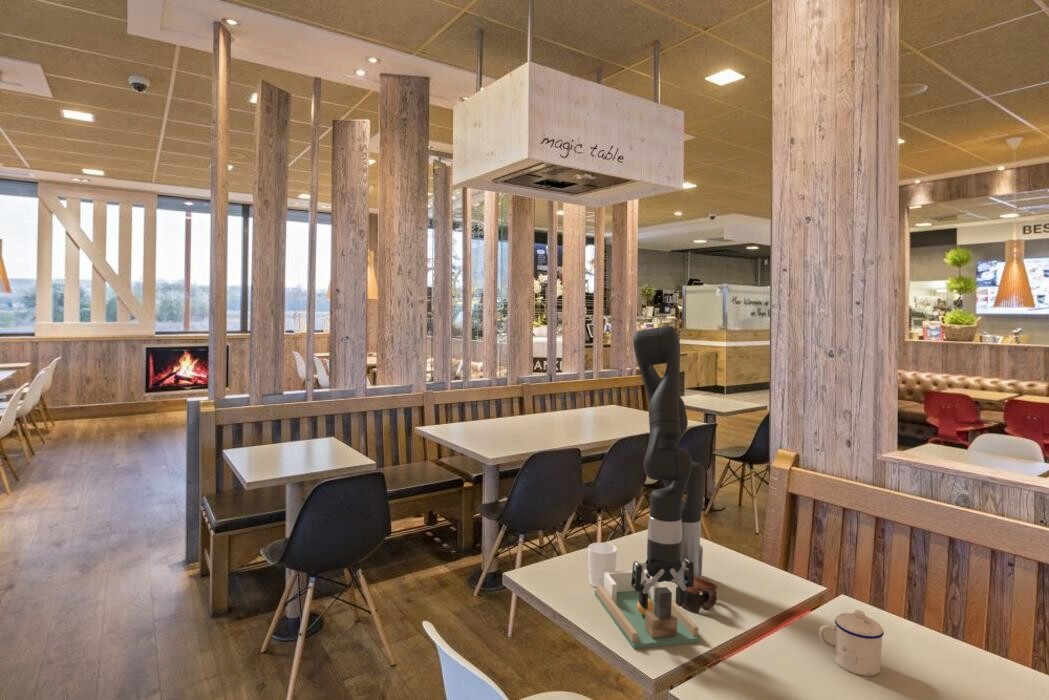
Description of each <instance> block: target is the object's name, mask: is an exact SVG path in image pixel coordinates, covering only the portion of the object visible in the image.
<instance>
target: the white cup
mask: <svg viewBox="0 0 1049 700" xmlns="http://www.w3.org/2000/svg"><path fill="white" fill-rule="evenodd" d="M617 556H618V547H617V546H615V545H613V544H611V543H608V542H593V543H591V544H589V545H588V546H587V559H588V560H587V561H588V564H587V565H588V566H587V567H588V582H589V585H590V586H591V587H594V588H596V585H601V586H602V587H603V588H604V574H605V572H616V569H617V568H616V567H617Z"/></svg>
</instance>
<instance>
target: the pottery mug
mask: <svg viewBox="0 0 1049 700" xmlns="http://www.w3.org/2000/svg"><path fill="white" fill-rule="evenodd" d="M717 589H718V585H717V584H715V583H713V582H712V581H709V580H706V579H703V578H698V577H695V576H694V586H693V587H692V588H691V587H688V588H687V589H686V590H685V602H684V603H683V606H681V607H683V608H685V609H687V610H688V611H692V612H693V613H694V612H695V613H697V614H699V613H700V611H701V608H702V609H703V611H705V612H706V611H710V610H711V609H712V608H713V607H714V606H715V604H716V603H717V600H718V595H717V594H718V591H717ZM700 592H702V594H701V593H700Z"/></svg>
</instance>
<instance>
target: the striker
mask: <svg viewBox="0 0 1049 700" xmlns="http://www.w3.org/2000/svg"><path fill="white" fill-rule="evenodd" d="M672 594H673V592H672V591H671V590H670V589H669V588H668V587H667V586H664V587H663V586H662V587H660V588H655V602H654V611H647V612H646V614H645V629H646V630H647V632H648V633H649V634H650V635H651V637H652V638H654V637H664V636H674V635H677V620H678V618H677V617H676V616H675V615H674V614H673V613H672V612H671V603H672V601H673V595H672Z"/></svg>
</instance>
